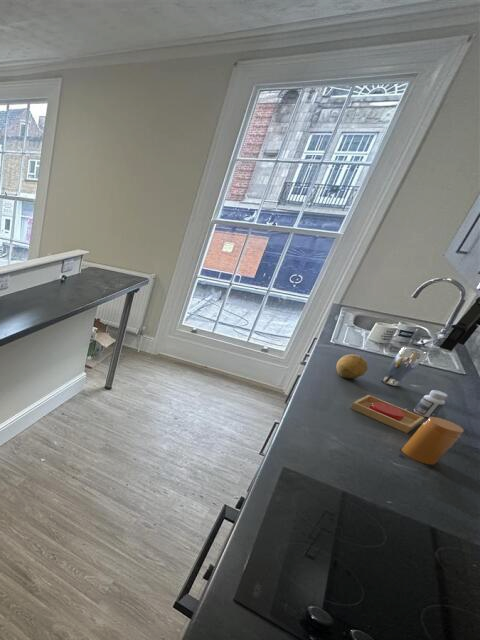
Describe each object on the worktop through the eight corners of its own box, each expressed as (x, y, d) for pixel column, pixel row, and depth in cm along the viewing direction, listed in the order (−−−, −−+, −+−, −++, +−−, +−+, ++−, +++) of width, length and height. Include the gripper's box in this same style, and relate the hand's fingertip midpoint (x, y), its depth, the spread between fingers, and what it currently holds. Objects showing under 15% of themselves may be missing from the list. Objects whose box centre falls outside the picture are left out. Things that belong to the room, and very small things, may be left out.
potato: (375, 356, 161) (347, 346, 165) (373, 367, 152) (344, 356, 157) (358, 375, 166) (332, 365, 171) (355, 387, 158) (328, 376, 163)
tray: (420, 423, 136) (424, 417, 135) (406, 433, 130) (411, 427, 128) (364, 400, 147) (368, 394, 146) (349, 408, 141) (353, 402, 140)
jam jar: (426, 452, 121) (454, 421, 115) (441, 467, 115) (472, 435, 109) (396, 444, 123) (422, 413, 117) (409, 459, 117) (437, 427, 111)
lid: (374, 405, 143) (378, 400, 142) (404, 418, 137) (408, 413, 136) (364, 409, 139) (368, 404, 138) (395, 423, 133) (399, 418, 132)
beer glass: (380, 377, 166) (403, 344, 159) (402, 384, 162) (427, 351, 154) (377, 381, 162) (401, 348, 155) (400, 389, 158) (425, 355, 150)
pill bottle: (429, 413, 143) (447, 392, 138) (435, 420, 139) (453, 398, 134) (410, 408, 145) (427, 387, 141) (415, 414, 141) (432, 393, 137)
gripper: (495, 273, 124) (447, 336, 135) (474, 278, 112) (423, 346, 123) (532, 280, 118) (478, 345, 129) (513, 286, 107) (457, 357, 118)
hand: (451, 346), depth 126 cm, fingers open, 13 cm apart
